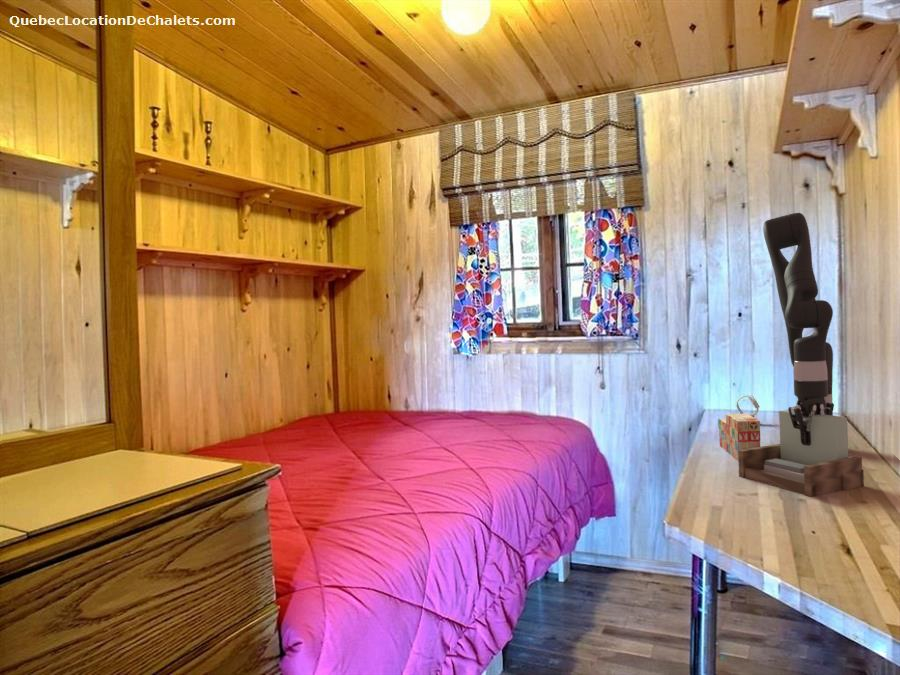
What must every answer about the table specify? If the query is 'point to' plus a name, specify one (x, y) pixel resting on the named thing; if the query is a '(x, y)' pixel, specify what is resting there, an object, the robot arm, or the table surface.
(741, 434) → the stack of blocks
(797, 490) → the rack
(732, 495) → the table surface
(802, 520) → the table surface
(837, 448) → the tall sheet
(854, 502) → the table surface
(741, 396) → the watch
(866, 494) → the table surface
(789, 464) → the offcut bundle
